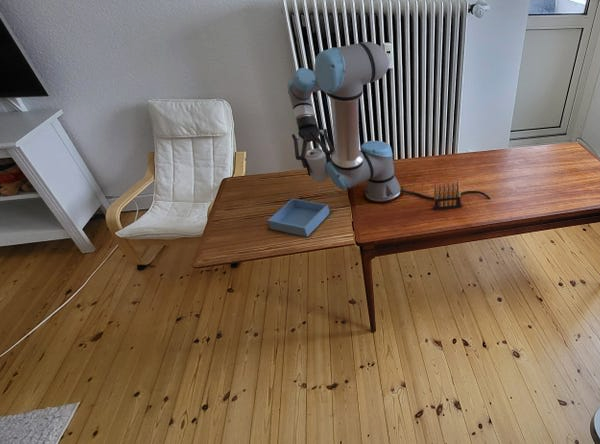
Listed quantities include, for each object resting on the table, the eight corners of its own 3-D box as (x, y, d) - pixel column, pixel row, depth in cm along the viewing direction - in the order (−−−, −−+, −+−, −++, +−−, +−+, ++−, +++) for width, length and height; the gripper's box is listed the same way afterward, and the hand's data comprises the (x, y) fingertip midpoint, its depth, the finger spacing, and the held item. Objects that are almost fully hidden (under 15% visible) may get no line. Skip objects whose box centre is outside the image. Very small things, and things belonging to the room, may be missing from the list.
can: (314, 173, 156) (306, 147, 149) (332, 172, 156) (325, 146, 149) (310, 183, 150) (302, 156, 143) (329, 182, 151) (322, 155, 143)
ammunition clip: (460, 204, 153) (460, 179, 146) (460, 207, 152) (461, 182, 144) (434, 207, 152) (433, 182, 145) (435, 209, 151) (433, 184, 143)
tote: (330, 212, 151) (327, 204, 148) (307, 236, 139) (304, 228, 137) (295, 206, 155) (292, 198, 152) (270, 228, 143) (267, 220, 141)
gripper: (331, 118, 156) (345, 170, 155) (280, 127, 151) (294, 180, 149) (331, 111, 149) (345, 164, 147) (277, 119, 143) (292, 175, 142)
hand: (320, 172), depth 148 cm, fingers closed on can, 7 cm apart
